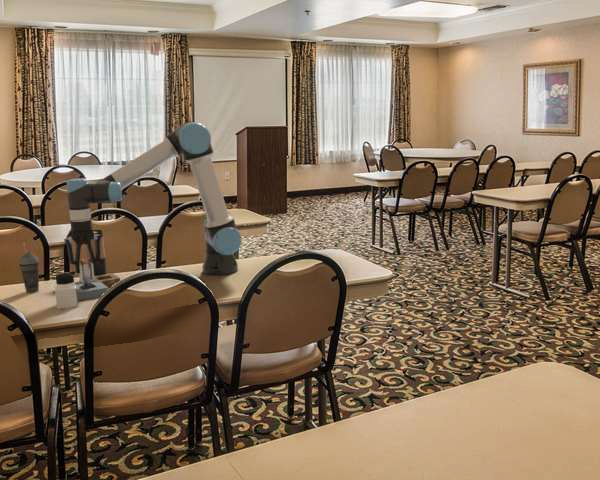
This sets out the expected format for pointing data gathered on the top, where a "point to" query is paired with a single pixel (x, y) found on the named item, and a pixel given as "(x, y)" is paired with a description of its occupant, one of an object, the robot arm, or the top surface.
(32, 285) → the beverage cup
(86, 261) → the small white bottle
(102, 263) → the travel mug
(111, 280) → the mount
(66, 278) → the medicine bottle
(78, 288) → the socket
